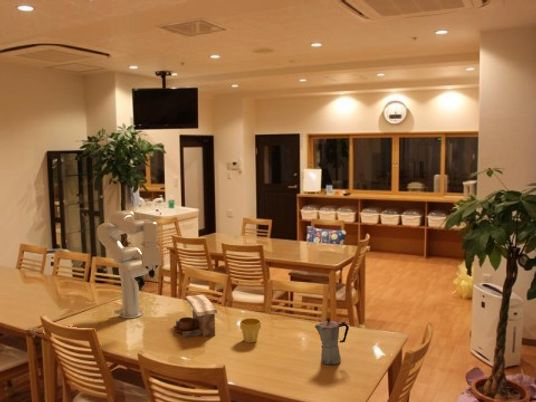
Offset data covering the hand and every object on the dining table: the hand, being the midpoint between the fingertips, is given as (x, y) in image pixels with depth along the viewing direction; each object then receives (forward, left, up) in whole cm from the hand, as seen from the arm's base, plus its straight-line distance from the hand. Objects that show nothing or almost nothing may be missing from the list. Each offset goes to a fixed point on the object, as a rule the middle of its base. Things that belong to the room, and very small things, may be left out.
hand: (151, 277), depth 274 cm
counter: (+20, -16, -27) cm, 37 cm away
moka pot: (+68, -79, -27) cm, 108 cm away
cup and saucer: (+15, -16, -27) cm, 35 cm away
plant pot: (+42, -42, -27) cm, 65 cm away
